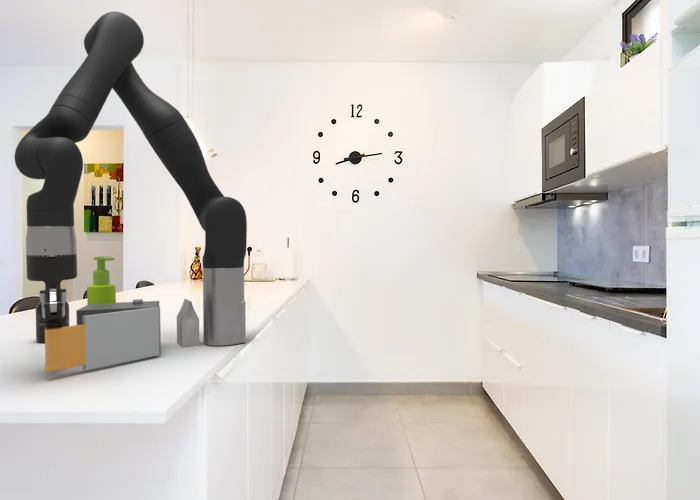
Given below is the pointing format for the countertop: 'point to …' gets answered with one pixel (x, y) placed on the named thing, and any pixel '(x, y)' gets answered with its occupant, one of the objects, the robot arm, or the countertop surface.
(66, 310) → the supplement bottle
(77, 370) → the countertop surface
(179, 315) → the grey gable top carton
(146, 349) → the side door
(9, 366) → the countertop surface
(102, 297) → the soap dispenser
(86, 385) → the countertop surface
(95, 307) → the camera housing
